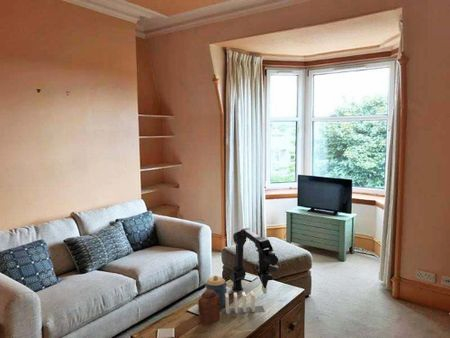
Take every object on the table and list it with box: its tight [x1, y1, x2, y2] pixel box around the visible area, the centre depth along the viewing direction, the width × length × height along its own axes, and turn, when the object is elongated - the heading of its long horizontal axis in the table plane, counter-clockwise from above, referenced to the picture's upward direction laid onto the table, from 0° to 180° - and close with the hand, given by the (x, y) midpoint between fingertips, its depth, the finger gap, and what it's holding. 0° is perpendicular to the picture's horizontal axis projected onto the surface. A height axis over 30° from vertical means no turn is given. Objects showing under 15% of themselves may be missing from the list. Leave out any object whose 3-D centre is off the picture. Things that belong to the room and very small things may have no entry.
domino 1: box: [224, 292, 230, 314], centre depth 199 cm, size 5×2×10 cm, turn 6°
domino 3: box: [241, 291, 247, 312], centre depth 200 cm, size 5×2×10 cm, turn 6°
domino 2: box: [233, 291, 239, 313], centre depth 200 cm, size 5×2×10 cm, turn 6°
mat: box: [221, 305, 266, 316], centre depth 201 cm, size 7×24×1 cm, turn 96°
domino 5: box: [261, 283, 268, 295], centre depth 202 cm, size 5×2×10 cm, turn 7°
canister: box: [204, 275, 228, 308], centre depth 210 cm, size 13×13×18 cm
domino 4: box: [249, 290, 256, 312], centre depth 201 cm, size 5×2×10 cm, turn 6°
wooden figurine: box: [197, 289, 221, 326], centre depth 189 cm, size 12×6×18 cm, turn 125°
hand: (264, 286), depth 202 cm, fingers closed on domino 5, 5 cm apart
